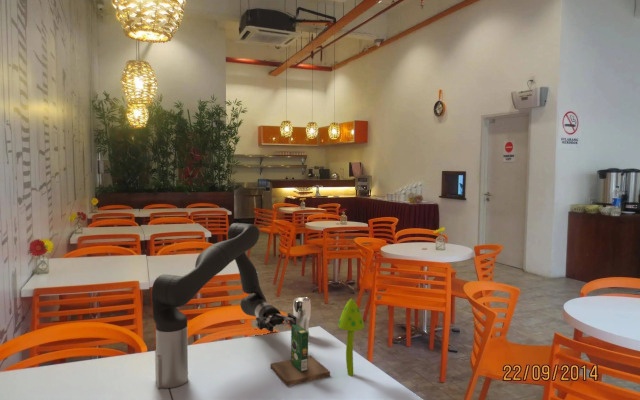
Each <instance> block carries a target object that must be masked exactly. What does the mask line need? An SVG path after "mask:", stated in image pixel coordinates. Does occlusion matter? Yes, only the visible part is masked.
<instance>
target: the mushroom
mask: <svg viewBox="0 0 640 400" xmlns="http://www.w3.org/2000/svg"><path fill="white" fill-rule="evenodd" d="M337 326H338V328H339V329H340V330H343V331H347V339H346V345H345V346H346V347H345V360H346V361H345V362H346V372H347V375H348V376H349V377H352V376H354V336H355V332H357V331H361V330H363V329H364V328H365V322H364V320H363V316H362V314H361V311H360V308H359V306H358V304H357V303H356V301H355V300H354V299H353V298H350V299H349V300H348V301H347V303H346V304H345V306H344V308H343V310H342V312H341V314H340V318H339V320H338V324H337Z"/></svg>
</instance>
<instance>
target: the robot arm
mask: <svg viewBox="0 0 640 400" xmlns="http://www.w3.org/2000/svg"><path fill="white" fill-rule="evenodd" d="M259 239H260V230H259V228H258V226H256V225H255V224H252V223H243V222H234V223H231V224H230V225H229V227H228V229H227V239H226V240H223V241H219V242H216V243H213V244H211V245H210V246H208V247H206V248H205V249H204V250H203V251H202V252H201V253H199V254H198V256H197V258H196V261H195V266H194V269H192V270H191V271H190V272H188V273H186V274H184V275H174V274H161V275H159V276H157V277H156V279H155V280H154V281H153V284H152V288H151V306H152V307H151V309H152V318H153V322H154V323H155V347H156V348H155V352H154V356H155V357H154V362H155V366H154V367H155V382H156V383H155V384H156V386H157V389H161V388H162V389H163V388H164V389H165V388H167V389H169V388H171V389H172V388H177V387H181V386H182V385H184V384H186V383H187V382H188V380H189V368H188V367H189V366H188V365H189V362H188V361H189V355H188V354H189V353H188V351H189V349H188V347H189V345H188V342H189V341H188V339H189V338H188V317H187V316H186V314H184V313H183V312H182V311H181V310H180V309H178V308H179V307H180V308H181V307H184V306H186V305H187V304H188V303H190V301H192V299H193V298H194V297H195V296H196V295H197V294H198V293H199V291H201V289H202V288H203V287H204V286H205V285H206V284H208V283H209V281H211V280H212V279H213V278H214V277H215V276H216V275H218V274H220V272H222V271H223V270H224V269H225V268H226V267H227V266H228V265H229V264H230V263H232V262H233V261H235V263H236V266H237V269H238V273H239V278H240V283H241V288H242V291H243V292H244V293H245V294H247V296H244V297H243V298H242V299H241V300H240V308H241V311H242V312H243V313H244V314H245V315H247V316H250V317H255V326H256V327H257V328H258V330H260V331H261V330H263V329H264V330H266V331H268V332H270V333H273V332H274V327H276V326H285V327H286V326H290V327H291V326H292V325H296V319H297V317H295V316H294V314H292V313H290V312H288V313H287V315H284V314H281V312H280V310H279V309H278V308H276V307H275V306H274V305H273V304H271V303H270V302H267V299H266V296H265V295H264V292H263V291H262V288H261V286H260V285H261V284H260V280H259V273H258V271H257V269H256V266H255V265H254V264H253V262H252V261H251V259H250V258H249V257H248V256H247V254H246V252H247V251H249V250H250V249H252V248H253V247H255V245H256V244H257V243H258V241H259ZM248 294H249V295H248Z"/></svg>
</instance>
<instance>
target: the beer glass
mask: <svg viewBox="0 0 640 400" xmlns="http://www.w3.org/2000/svg"><path fill="white" fill-rule="evenodd" d="M292 308H293V310H292V311H293V314H292V315H294V316H295V317H297V319H296V324H299V325H300V326H301V327H302V328H304V329H305V330H306V331H307V332H308V337H309V338H310V335H311V334H310V331H309V327H310V326H309V325H310V320H311V313H312V306H311V298H309V297H306V296H303V297H302V296H299V297H295V298H293V307H292Z"/></svg>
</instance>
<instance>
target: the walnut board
mask: <svg viewBox="0 0 640 400" xmlns="http://www.w3.org/2000/svg"><path fill="white" fill-rule="evenodd" d="M269 365H270V366H269V367H270V369H271V370H272V372H273V374H275V375H276V376H277V377H278V378H279V379H280V380H281V382H282V383H284V385H285V386H286V387H290V386H295V385H299V384H302V383H307V382H312V381H317V380H318V379H319V380H320V379H323V378H329V377H331V371H330V370H329V369H328V368H327V367H325V366H324V365H323V364H322V363H320V362H319V361H318V360H317V359H316V358H315V357H313V355H308V371H305V372H300V371H299V370H298V369H297V368H296V367H295V366H293V364H292V363H291V359H287V360H286V359H285V360H281V361H276V362H272V363H270V364H269Z"/></svg>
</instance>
